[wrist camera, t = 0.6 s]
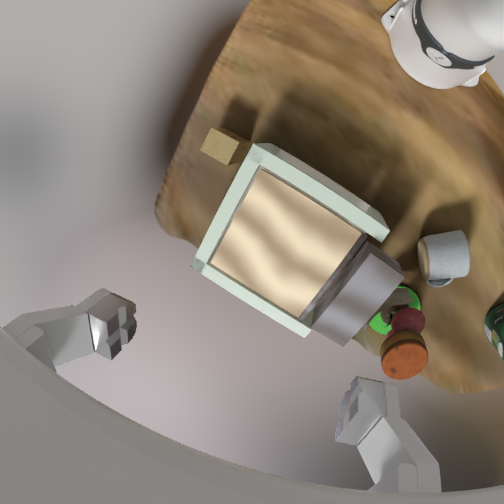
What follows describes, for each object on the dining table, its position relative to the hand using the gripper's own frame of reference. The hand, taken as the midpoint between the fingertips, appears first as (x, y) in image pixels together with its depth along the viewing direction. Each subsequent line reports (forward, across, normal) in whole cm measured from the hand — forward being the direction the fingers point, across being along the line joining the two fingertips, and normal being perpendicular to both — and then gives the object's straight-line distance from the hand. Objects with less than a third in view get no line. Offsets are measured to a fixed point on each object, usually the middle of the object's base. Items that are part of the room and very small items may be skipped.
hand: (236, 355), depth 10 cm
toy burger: (+42, -20, +18) cm, 50 cm away
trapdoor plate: (+34, -2, +10) cm, 35 cm away
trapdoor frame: (+41, +2, +8) cm, 42 cm away
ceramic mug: (+42, -24, +6) cm, 49 cm away
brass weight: (+42, +15, -3) cm, 44 cm away
